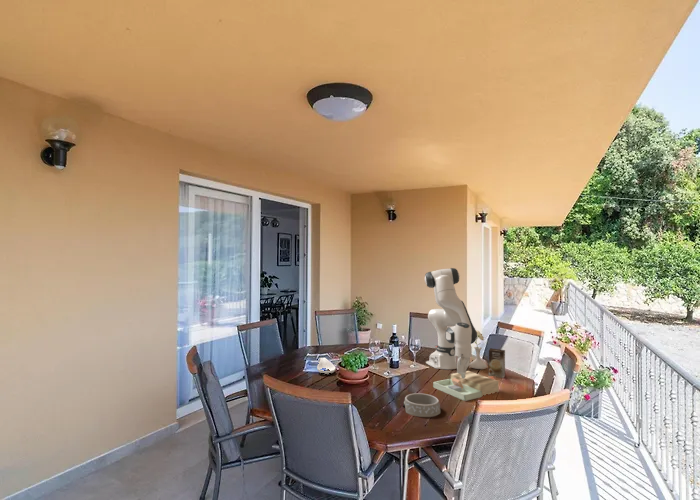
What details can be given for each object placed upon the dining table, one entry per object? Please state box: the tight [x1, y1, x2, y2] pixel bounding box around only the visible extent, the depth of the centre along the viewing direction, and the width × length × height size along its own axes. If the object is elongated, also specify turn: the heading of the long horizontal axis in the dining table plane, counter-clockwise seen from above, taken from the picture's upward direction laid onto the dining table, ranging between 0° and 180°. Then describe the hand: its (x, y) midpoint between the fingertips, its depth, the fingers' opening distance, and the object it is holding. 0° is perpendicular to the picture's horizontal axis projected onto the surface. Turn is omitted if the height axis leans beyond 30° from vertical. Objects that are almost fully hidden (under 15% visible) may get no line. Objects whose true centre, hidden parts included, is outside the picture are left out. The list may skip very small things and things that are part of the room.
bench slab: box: [450, 370, 499, 397], centre depth 212 cm, size 22×14×6 cm, turn 29°
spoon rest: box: [316, 357, 336, 375], centre depth 245 cm, size 24×12×7 cm, turn 16°
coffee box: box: [488, 348, 506, 379], centre depth 236 cm, size 9×6×16 cm
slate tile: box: [448, 385, 462, 392], centre depth 206 cm, size 5×5×2 cm
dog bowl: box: [402, 392, 442, 418], centre depth 181 cm, size 17×18×5 cm
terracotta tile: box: [452, 378, 463, 389], centre depth 209 cm, size 5×5×2 cm
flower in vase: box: [468, 330, 488, 370], centre depth 253 cm, size 13×11×25 cm
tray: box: [432, 378, 483, 402], centre depth 205 cm, size 24×12×3 cm, turn 29°
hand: (463, 377), depth 208 cm, fingers closed
